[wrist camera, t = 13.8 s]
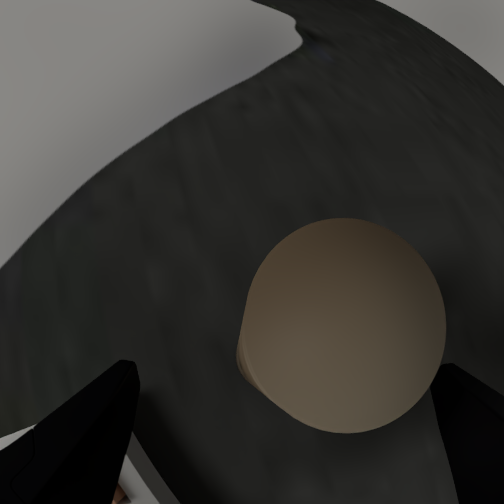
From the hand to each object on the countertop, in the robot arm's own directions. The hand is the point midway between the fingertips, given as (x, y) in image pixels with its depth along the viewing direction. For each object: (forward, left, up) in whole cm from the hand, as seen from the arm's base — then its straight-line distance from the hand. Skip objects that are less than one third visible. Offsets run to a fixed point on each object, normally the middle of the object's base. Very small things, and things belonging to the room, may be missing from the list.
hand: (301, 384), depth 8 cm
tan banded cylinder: (+1, -1, -9) cm, 9 cm away
